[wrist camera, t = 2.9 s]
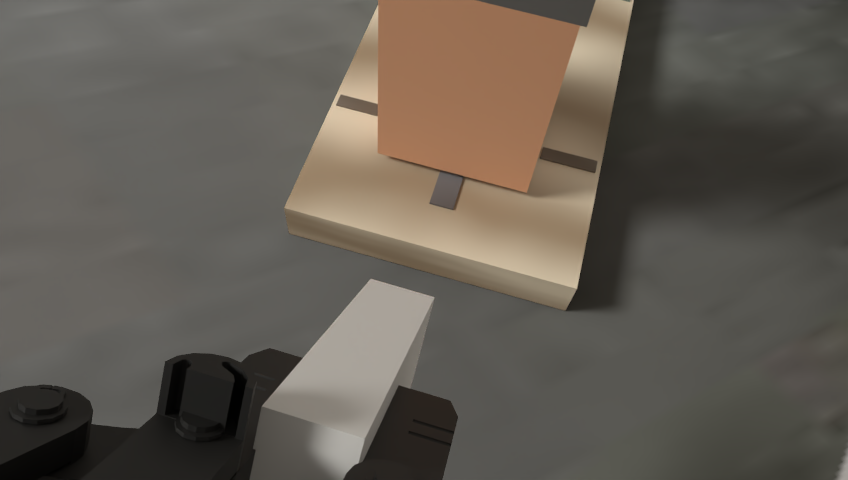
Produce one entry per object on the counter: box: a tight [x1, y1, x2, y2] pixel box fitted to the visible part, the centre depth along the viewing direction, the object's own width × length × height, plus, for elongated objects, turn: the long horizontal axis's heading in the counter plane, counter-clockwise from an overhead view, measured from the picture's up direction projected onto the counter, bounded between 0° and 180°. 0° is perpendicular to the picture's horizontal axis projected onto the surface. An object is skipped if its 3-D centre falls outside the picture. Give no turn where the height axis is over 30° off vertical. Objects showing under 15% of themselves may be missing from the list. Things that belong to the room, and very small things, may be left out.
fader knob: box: [378, 0, 596, 193], centre depth 27 cm, size 5×7×10 cm
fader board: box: [284, 0, 634, 311], centre depth 37 cm, size 30×12×2 cm, turn 164°
